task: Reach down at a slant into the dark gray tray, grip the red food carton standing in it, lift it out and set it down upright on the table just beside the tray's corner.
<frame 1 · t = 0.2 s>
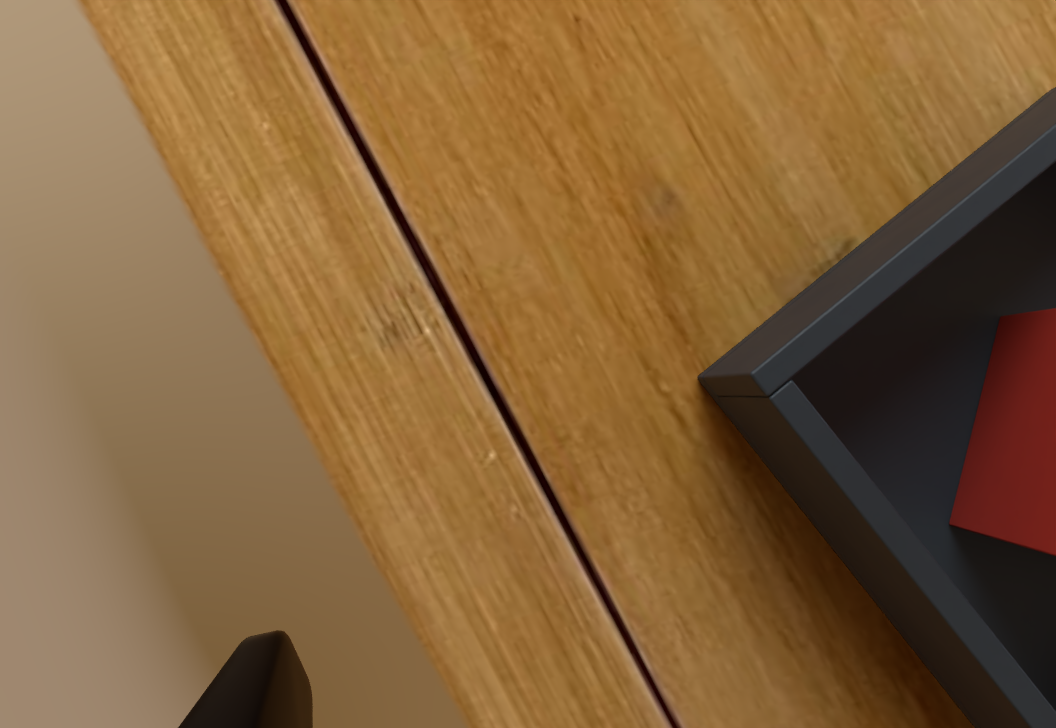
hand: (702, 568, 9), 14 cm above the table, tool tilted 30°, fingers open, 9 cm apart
dark gray tray: (1043, 442, 23), on the table
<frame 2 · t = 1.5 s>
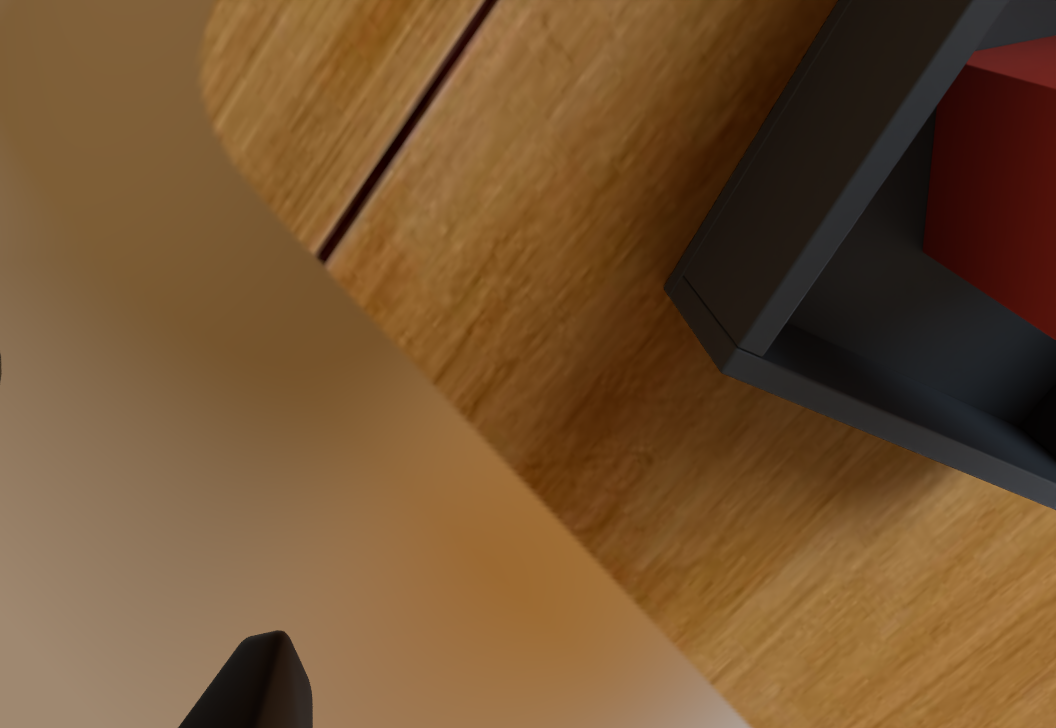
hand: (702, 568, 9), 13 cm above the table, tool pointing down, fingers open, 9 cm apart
dark gray tray: (1028, 132, 21), on the table
package: (1044, 137, 20), point 1 cm above the table, touching dark gray tray
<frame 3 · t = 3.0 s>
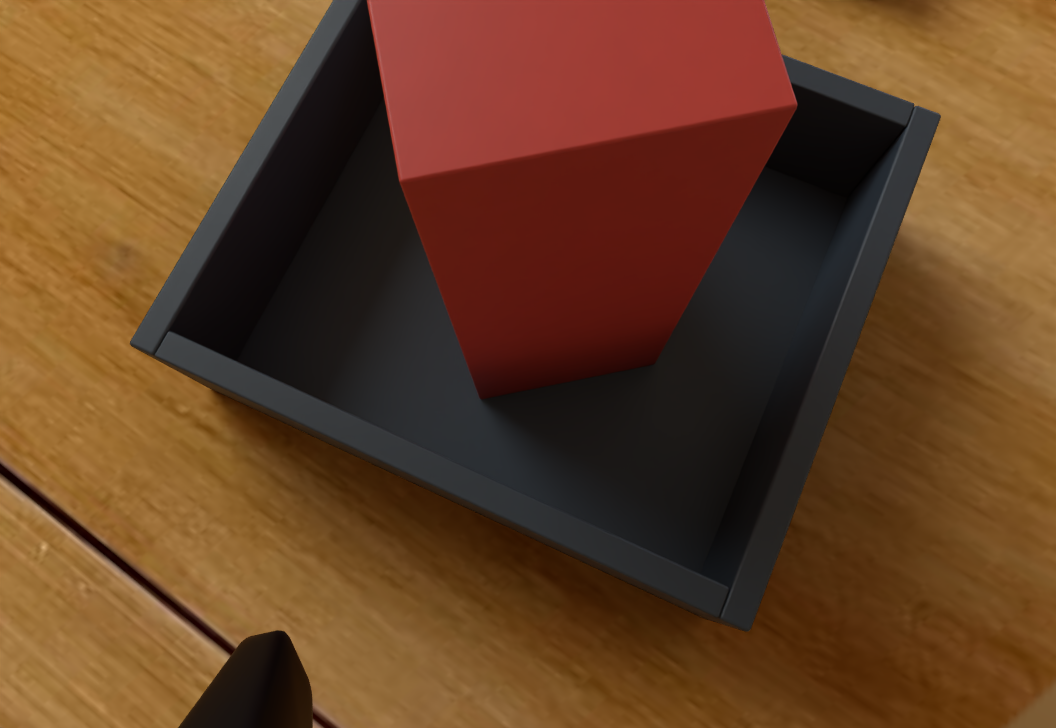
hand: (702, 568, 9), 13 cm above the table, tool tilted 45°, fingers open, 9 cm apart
dark gray tray: (545, 289, 24), on the table
package: (545, 282, 23), point 1 cm above the table, touching dark gray tray
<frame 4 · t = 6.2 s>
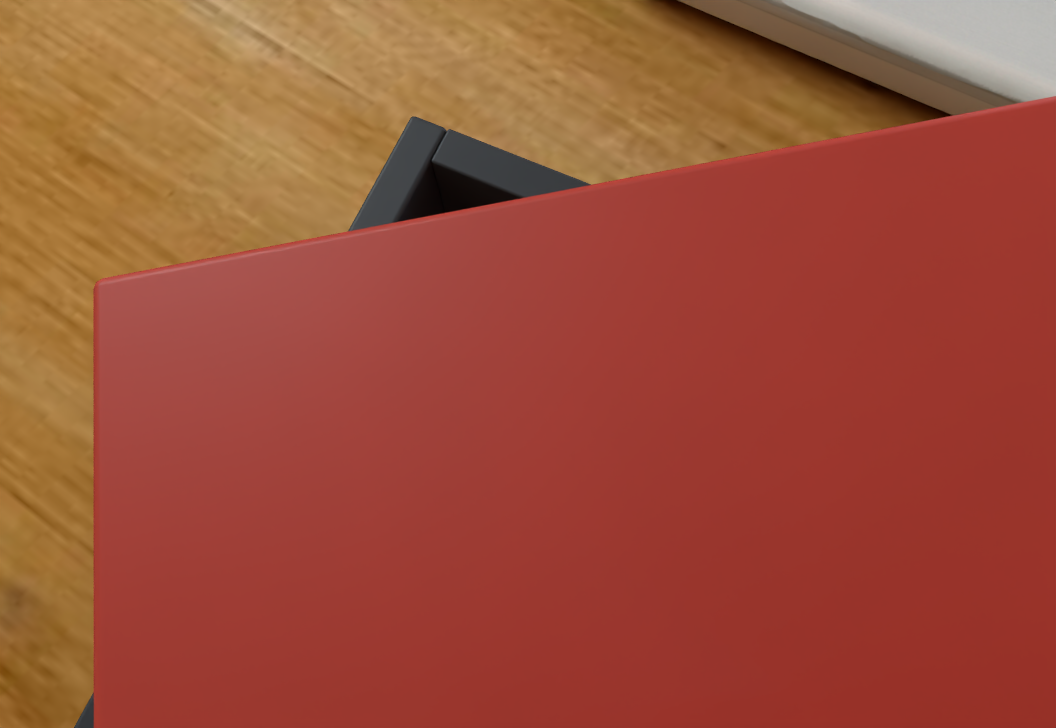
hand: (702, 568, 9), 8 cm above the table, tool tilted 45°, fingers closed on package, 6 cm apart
dark gray tray: (650, 665, 16), on the table
package: (654, 673, 15), point 1 cm above the table, touching dark gray tray, gripper
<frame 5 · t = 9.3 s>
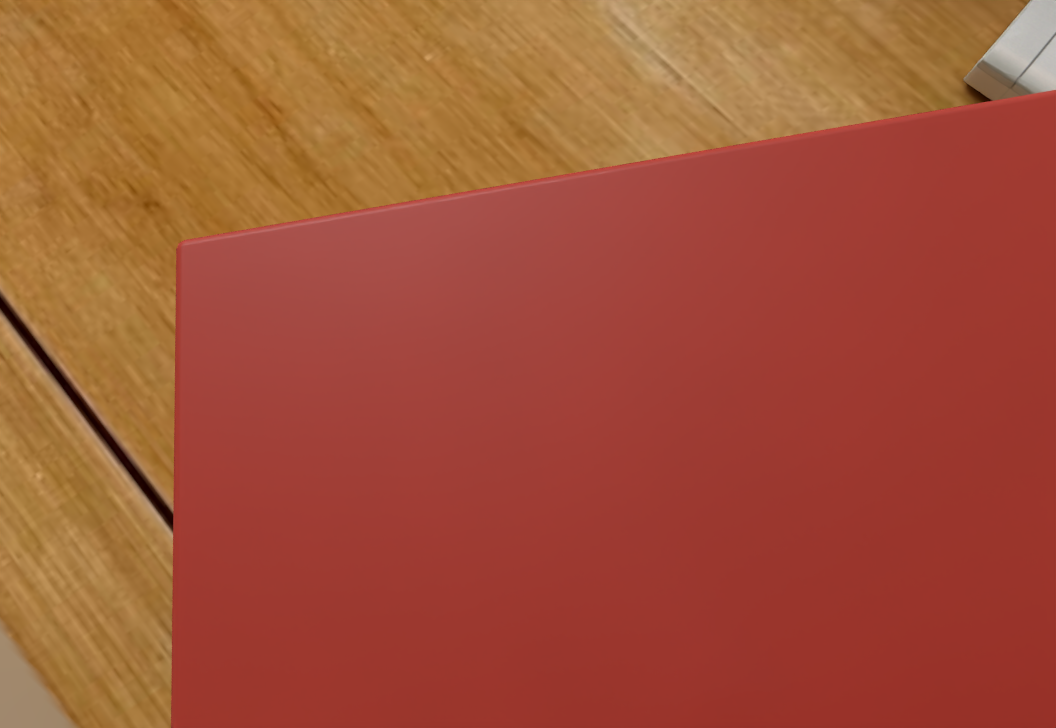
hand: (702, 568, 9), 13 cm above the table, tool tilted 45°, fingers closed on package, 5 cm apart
package: (682, 661, 15), point 6 cm above the table, tilted 7°, touching gripper
when the fingers open (7 cm above the table, at t = 12.8 s): package stays where it is, on the table.
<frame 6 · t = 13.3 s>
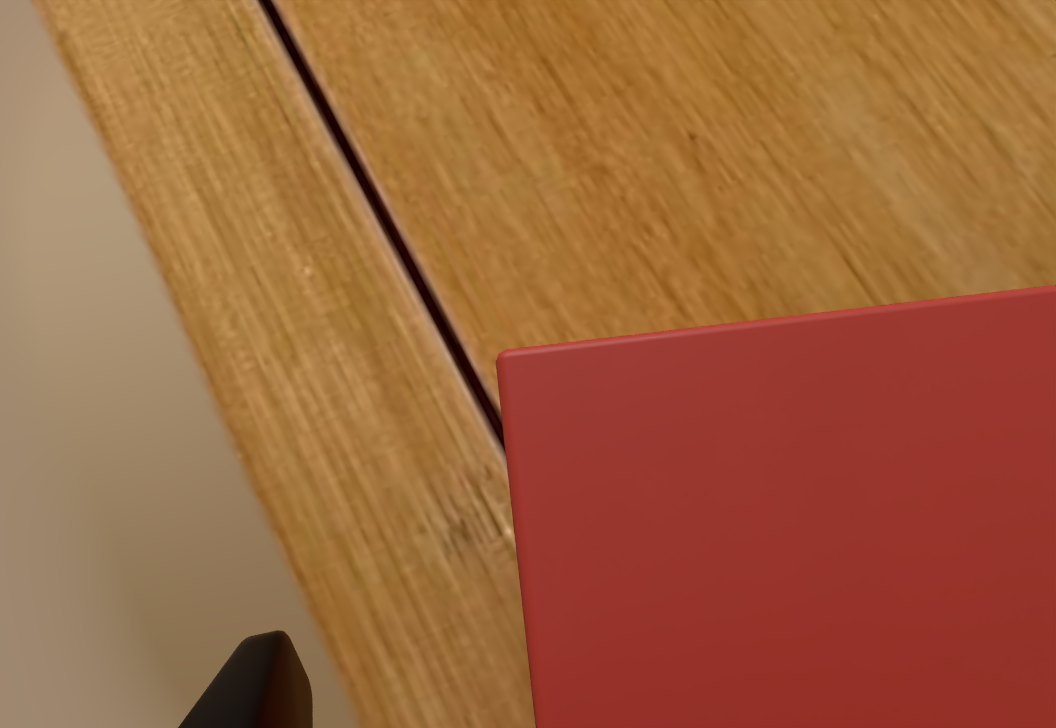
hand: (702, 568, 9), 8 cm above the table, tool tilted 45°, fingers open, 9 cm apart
package: (680, 664, 15), on the table
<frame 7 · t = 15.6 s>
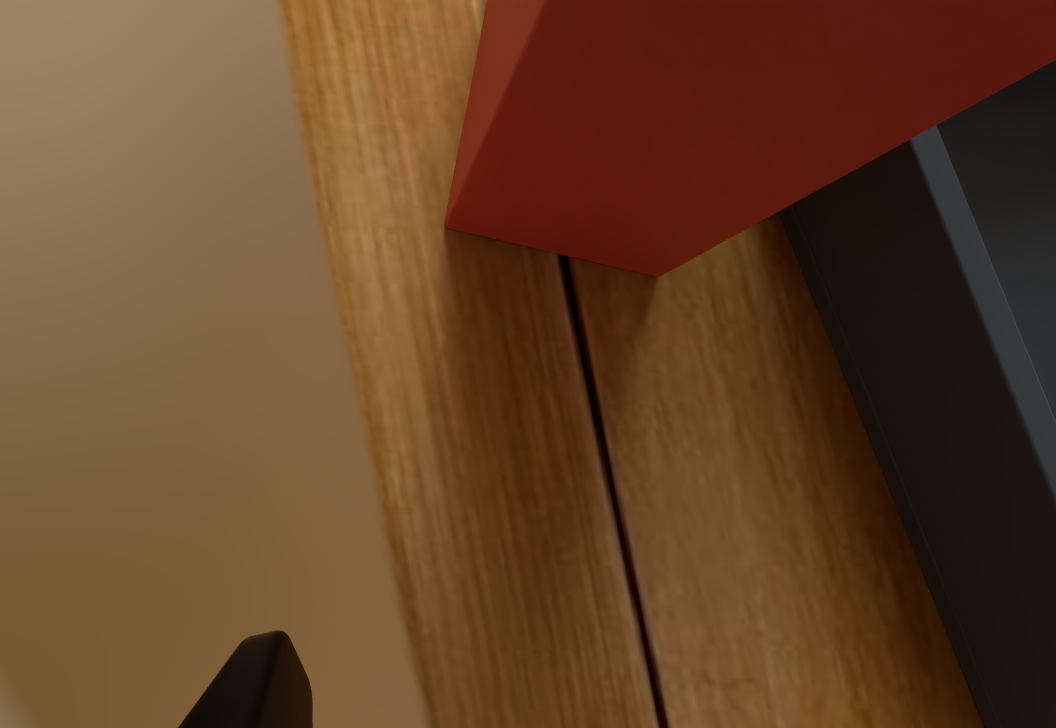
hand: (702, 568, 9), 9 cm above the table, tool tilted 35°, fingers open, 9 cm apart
package: (575, 127, 18), on the table
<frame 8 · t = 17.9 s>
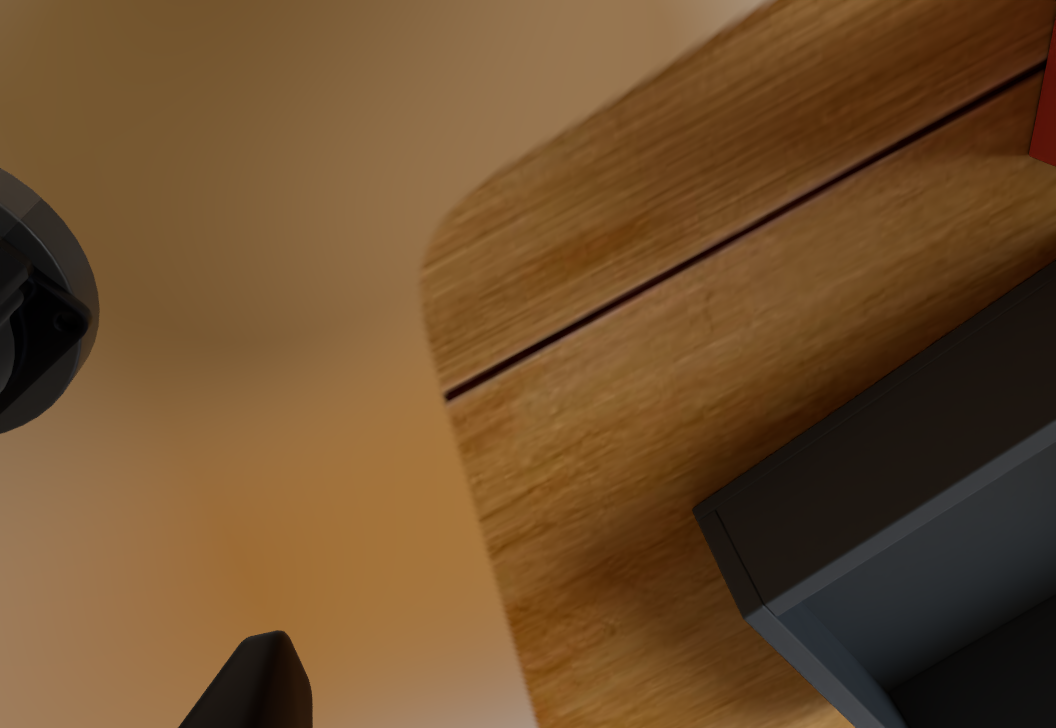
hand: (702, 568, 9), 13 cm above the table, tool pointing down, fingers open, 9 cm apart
dark gray tray: (984, 491, 27), on the table
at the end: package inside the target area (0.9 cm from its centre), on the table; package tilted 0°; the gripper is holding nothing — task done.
